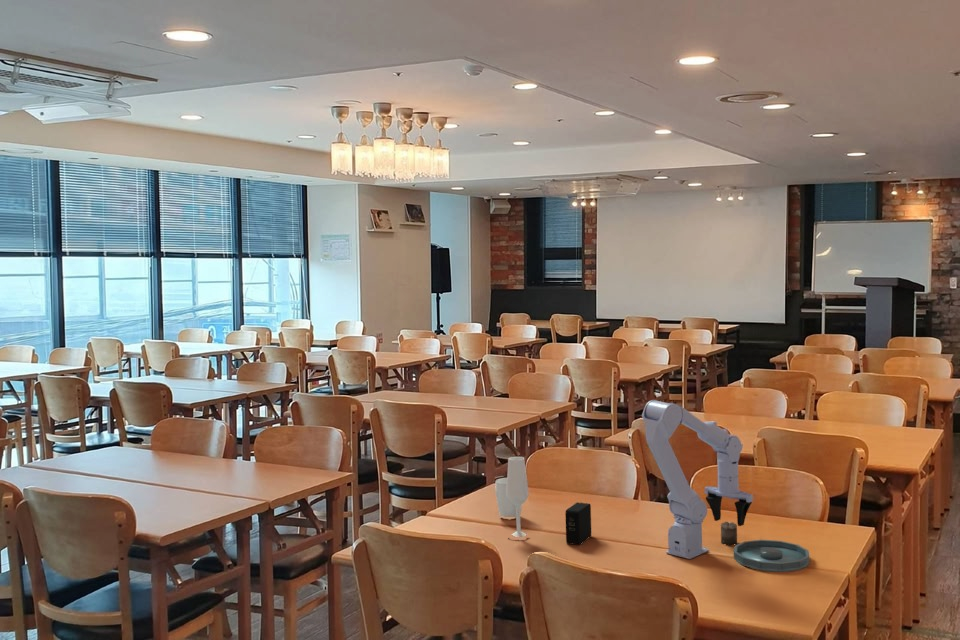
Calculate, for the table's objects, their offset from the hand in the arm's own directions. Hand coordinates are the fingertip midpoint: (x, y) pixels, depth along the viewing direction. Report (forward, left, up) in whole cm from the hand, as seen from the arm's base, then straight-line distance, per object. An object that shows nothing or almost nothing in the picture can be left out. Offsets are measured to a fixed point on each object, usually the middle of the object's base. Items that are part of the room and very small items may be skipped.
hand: (729, 522), depth 258 cm
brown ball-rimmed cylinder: (0, 0, -6) cm, 6 cm away
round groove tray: (-5, -16, -6) cm, 18 cm away
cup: (-23, +66, -6) cm, 70 cm away
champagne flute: (-36, +49, -6) cm, 61 cm away
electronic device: (-26, +34, -6) cm, 43 cm away
